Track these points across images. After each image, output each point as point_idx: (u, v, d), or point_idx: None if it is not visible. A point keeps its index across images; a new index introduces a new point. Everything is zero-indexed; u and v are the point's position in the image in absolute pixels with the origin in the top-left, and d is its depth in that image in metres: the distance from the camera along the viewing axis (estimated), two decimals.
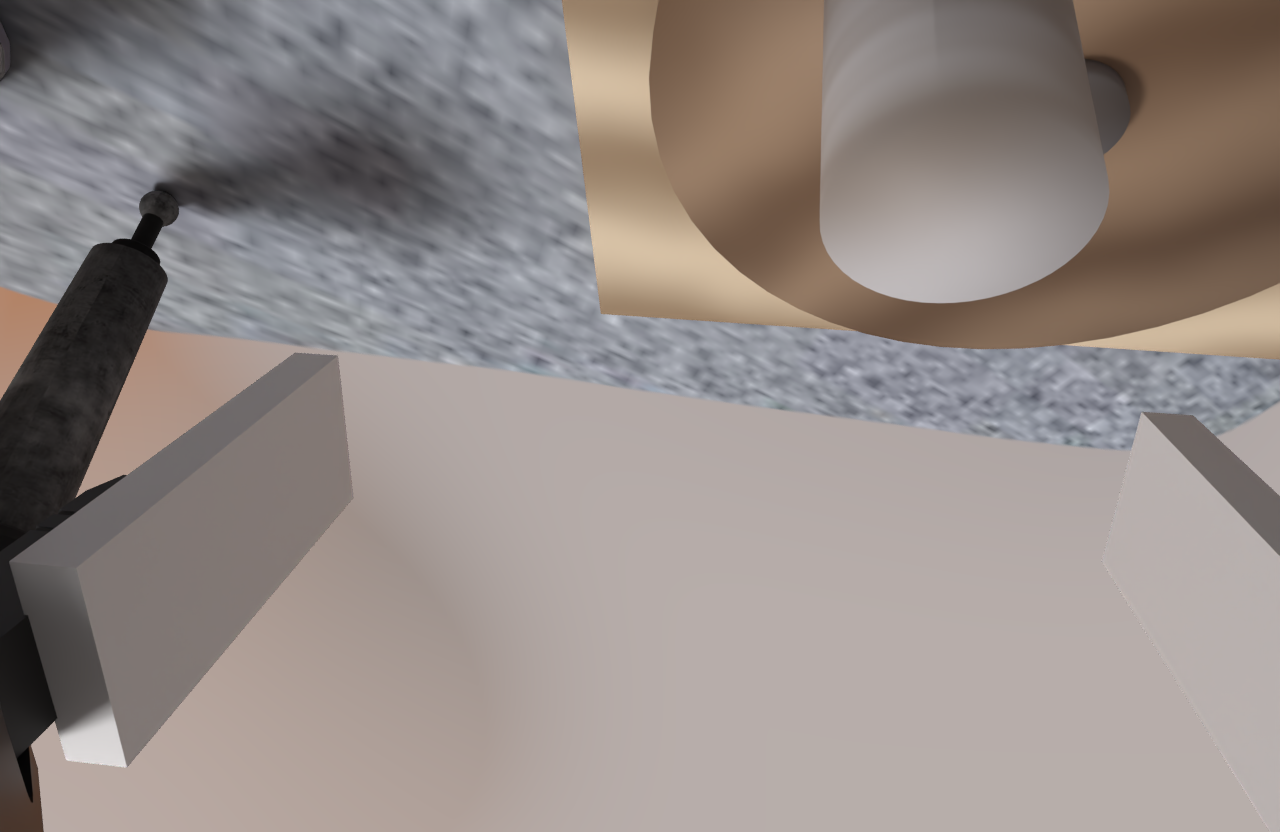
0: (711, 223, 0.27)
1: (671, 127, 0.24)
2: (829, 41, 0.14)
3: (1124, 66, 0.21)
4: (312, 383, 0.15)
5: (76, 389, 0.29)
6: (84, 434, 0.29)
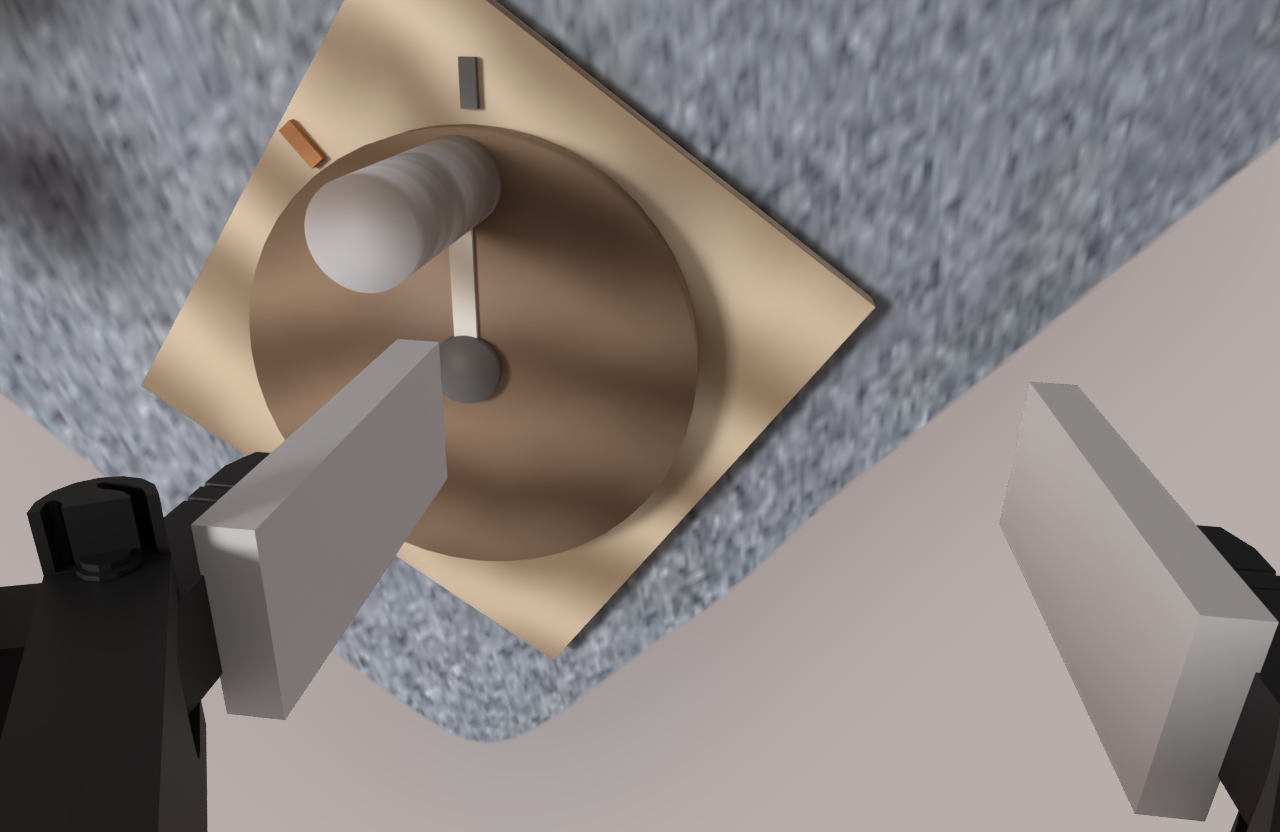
0: (259, 333, 0.41)
1: (272, 255, 0.40)
2: None
3: (504, 358, 0.40)
4: (420, 367, 0.15)
5: None
6: None
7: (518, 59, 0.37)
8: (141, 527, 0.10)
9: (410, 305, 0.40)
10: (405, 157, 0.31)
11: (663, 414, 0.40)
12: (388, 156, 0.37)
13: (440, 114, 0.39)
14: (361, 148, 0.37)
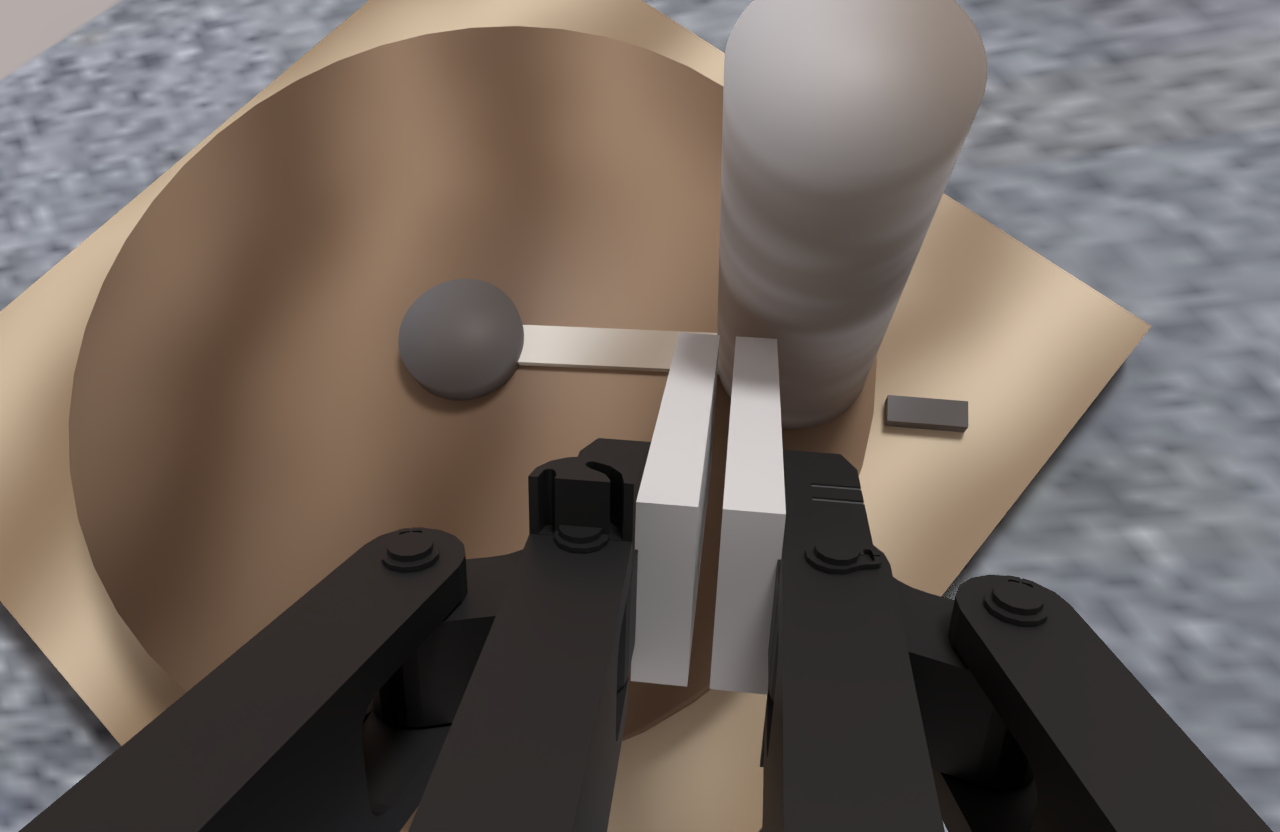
0: (546, 41, 0.26)
1: (669, 74, 0.25)
2: None
3: (475, 405, 0.22)
4: (717, 359, 0.16)
5: None
6: None
7: (962, 496, 0.23)
8: (611, 509, 0.11)
9: (580, 262, 0.24)
10: None
11: None
12: None
13: None
14: None
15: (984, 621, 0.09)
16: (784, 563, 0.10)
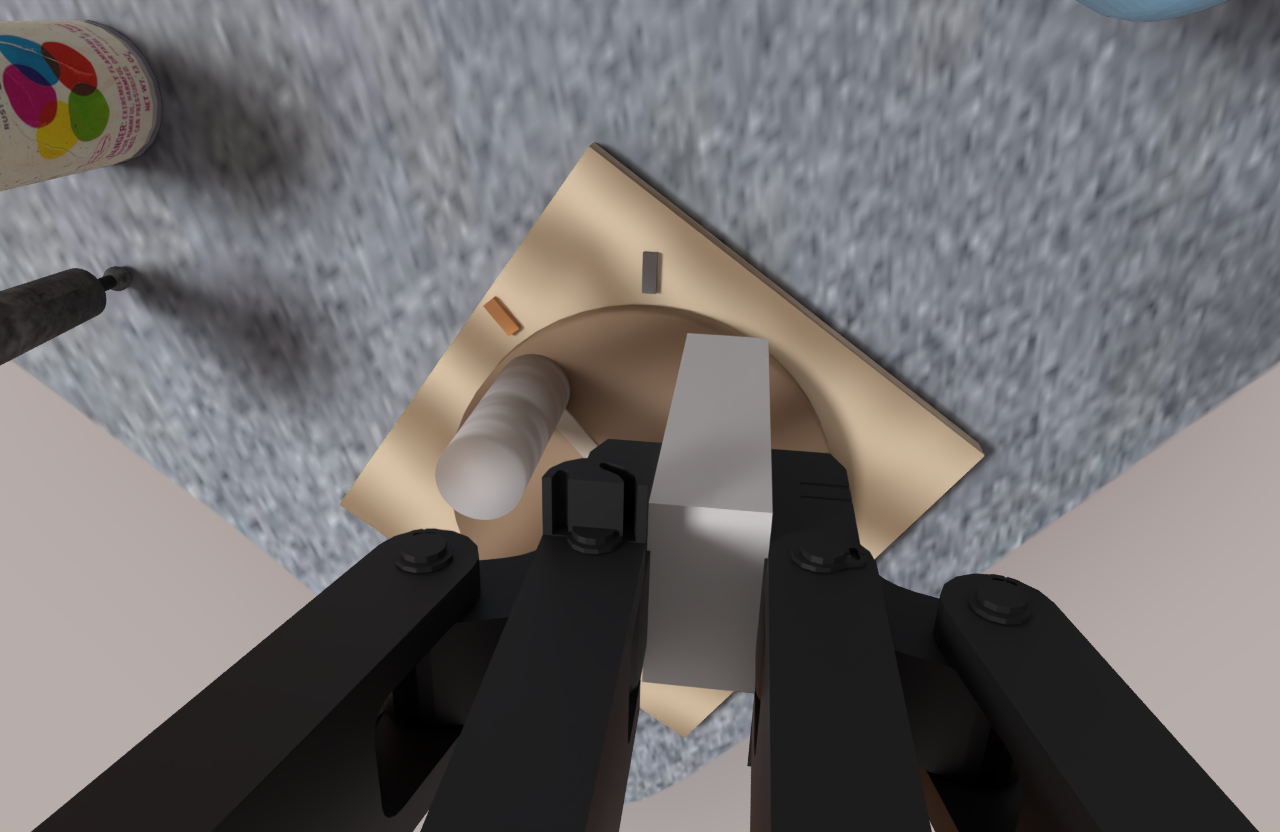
0: None
1: (466, 524, 0.50)
2: None
3: None
4: None
5: (27, 327, 0.42)
6: (10, 352, 0.41)
7: (692, 254, 0.45)
8: (626, 511, 0.11)
9: None
10: (478, 407, 0.40)
11: (793, 432, 0.45)
12: None
13: (622, 295, 0.46)
14: (464, 415, 0.47)
15: (968, 620, 0.09)
16: (770, 562, 0.10)
